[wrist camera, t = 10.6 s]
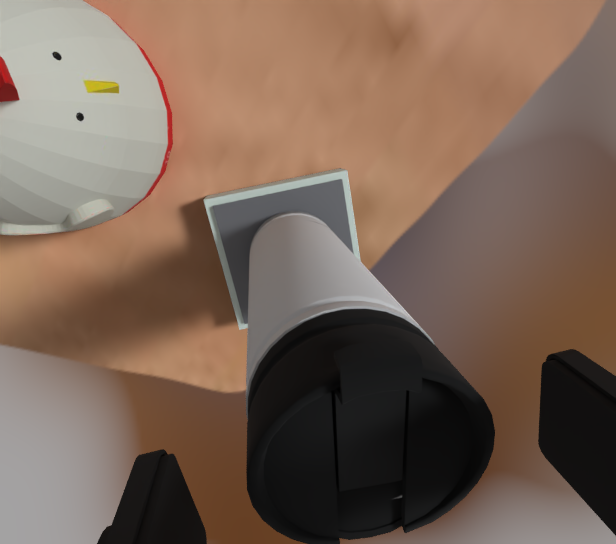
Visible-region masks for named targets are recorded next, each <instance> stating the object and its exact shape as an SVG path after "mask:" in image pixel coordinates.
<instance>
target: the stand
mask: <svg viewBox="0 0 616 544" xmlns="http://www.w3.org/2000/svg"><path fill="white" fill-rule="evenodd" d="M204 204H205V207H206V211H207V215H208V218H209V222H210V225H211V229H212V232H213V236H214V240H215V243H216V247H217V250H218V254H219V257H220V261H221V265H222V268H223V272H224V275H225V279H226V282H227V286H228V290H229V293H230V297H231V300H232V304H233V307H234V311H235V315H236V318H237V322H238V325H239V329H240V330H241V329H245V328H248V296H249V257H250V246H251V242H252V239H253V237H254V234H255V233H256V231H257V230H258V228H259V227H260V226H261V225H262V224H263V223H264V222H265V221H266V220H268V219H269V218H271V217H272V216H274V215H277V214H279V213H282V212H287V211H302V212H307V213H310V214H312V215H314V216H316V217H318V218H319V219H321V220H322V221H323V222H324V223H325V224H326V225H327V226H328V227H329V228H330V229H331V230H332V231H333V232H334V233H335V235H336V236H337V237H338V238H339V239H340V240H341V241H342V242H343V243H344V244H345V245H346V246H347V248H348V249H349V250H350V251H351V252H352V253H353V254H354V255H355V256H356V257H357V258H358V259H359V261H360V254H359V247H358V240H357V234H356V227H355V220H354V213H353V206H352V200H351V193H350V186H349V179H348V172H347V170H345V169H341V168H339V169H334V170H329V171H324V172H319V173H315V174H310V175H305V176H300V177H295V178H290V179H286V180H281V181H276V182H271V183H266V184H261V185H257V186H252V187H247V188H242V189H237V190H232V191H228V192H223V193H218V194H213V195H208V196H206V198H205V199H204ZM360 262H361V261H360Z"/></svg>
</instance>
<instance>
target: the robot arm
mask: <svg viewBox="0 0 616 544" xmlns="http://www.w3.org/2000/svg"><path fill="white" fill-rule="evenodd" d="M538 442H539V447H540V449H541V452H542V453H543V455H544V456H545V458H546V459H547V460H548V461H549V462H550V463H551V464H552V465H553V466H554V468H555V469H556V470H557V471H558V472H559V473H560V474H561V475H562V477H563V478H564V479H565V480H566V481H567V482H568V483H569V484H570V485H571V486H572V487H573V489H574V490H575V491H576V492H577V493H578V494H579V495H580V496H581V498H582V499H583V500H584V501H585V502H586V503H587V504H588V505H589V506H590V508H591V509H592V510H593V511H594V512H595V513H596V514H597V515H598V516H599V517H600V518H601V520H602V521H603V522H604V523H605V524H606V525H607V526H608V528H609V529H610V530H611V531H612V532H613V533H614V534H615V535H616V376H614V375H613V374H611V373H610V372H608V371H607V370H605V369H604V368H603V367H601V366H600V365H598V364H596V363H595V362H593V361H592V360H591V359H589V358H588V357H586V356H585V355H583V354H582V353H580V352H579V351H576V350H573V349H570V350H566V351H562V352H558V353H554V354H550V355H548V357H547V359H546V362H544V363H543V364H542V375H541V396H540V418H539V440H538ZM97 544H207V543H206V532H205V528H204V525H203V523H202V521H201V518H200V516H199V513H198V511H197V509H196V506H195V504H194V501H193V499H192V496H191V494H190V491H189V489H188V486H187V484H186V482H185V479H184V477H183V475H182V472H181V469H180V467H179V465H178V462H177V460H176V457H175V456H174V454H169V455H168V454H167V453H166V451H165V450H158V451H154V452H150V453H146V454H142V455H139V456H138V457H137V458H136V460H135V462H134V465H133V468H132V470H131V473H130V476H129V479H128V481H127V484H126V487H125V490H124V493H123V495H122V498H121V501H120V504H119V506H118V509H117V512H116V515H115V517H114V520H113V523H112V525H111V526H108V527H107V528H106V529H105V530H104V531H103V533H102V534H101V537H100V539H99V541H98V543H97Z"/></svg>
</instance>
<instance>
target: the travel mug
mask: <svg viewBox="0 0 616 544" xmlns="http://www.w3.org/2000/svg"><path fill="white" fill-rule="evenodd" d="M246 386H247V389H246V415H247V418H248V423H247V491H248V493H249V497H250V500H251V502H252V505H253V507H254V508H255V510H256V511H257V513H258V514H259V515H260V517H261V518H262V520H263V521H265V522H266V523H267V524H268V525H270V526H271V527H272V528H273V529H275V530H276V531H277V532H279V533H281V534H283V535H285V536H287V537H289V538H291V539H293V540H296V541H300V542H303V543H307V544H340V541H339V538H342V539H348V540H351V539H359V538H368V537H373V536H377V535H380V534H385V533H388V532H391V531H393V530H395V529H397V528H398V527H400V526H402V527H403V530H404V532H405V533H407V532H410V531H412V530H414V529H417V528H419V527H422V526H424V525H426V524H429V523H431V522H433V521H435V520H436V519H438V518H439V517H441V516H442V515H444V514H445V513H447V512H448V511H450V510H451V509H452V508H453V507H454V506H455V505H457V504H458V503H459V502H460V501H461V500H462V499H463V498H465V497H466V496H467V494H468V493H469V492H470V491H471V490H472V488H473V487H474V486H475V485H476V484H477V483H478V481H479V479H480V478H481V476H482V474H483V473H484V471H485V469H486V468H487V466H488V463H489V460H490V457H491V454H492V452H493V447H494V436H495V430H494V424H493V419H492V414H491V412H490V410H489V408H488V406H487V404H486V403H485V401H484V399H483V398H482V397H481V396H480V395H479V394H478V392H476V390H475V389H474V388H473V387H472V386H471V385H470V384H469V383H468V381H467V380H466V379H465V378H464V377H463V376H462V375H461V374H460V373H459V371H458V370H457V369H456V368H455V367H454V366H453V365H452V364H451V363H450V361H449V360H448V359H447V358H446V357H445V356H444V355H443V354H442V353H441V352H440V351H439V350H438V348H437V347H436V346H435V344H434V342H433V341H432V339H431V338H430V337H429V336H428V335H427V333H425V331H424V330H423V329H422V328H421V327H420V326H419V325H418V324H417V322H416V321H415V320H414V319H413V318H412V317H411V316H410V315H409V314H408V313H407V312H406V311H405V309H403V307H402V306H401V305H400V304H399V303H398V302H397V301H396V300H395V299H394V298H393V297H392V295H391V294H390V293H389V292H388V291H387V290H386V289H385V288H384V287H383V286H382V285H381V283H380V282H379V281H378V280H377V279H376V278H375V277H374V276H373V275H372V274H371V273H370V271H369V270H368V269H367V268H366V267H365V266H364V265H363V264H362V263H361V262H360V261H359V259H358V258H357V257H356V256H355V255H354V254H353V253H352V252H351V251H350V250H349V249H348V248H347V246H346V245H345V244H344V243H343V242H342V241H341V240H340V239H339V238H338V237H337V236H336V235H335V233H334V232H333V231H332V230H331V229H330V228H329V227H328V226H327V225H326V224H325V223H324V222H323V221H322V220H321V219H319V218H318V217H316V216H314V215H312V214H310V213H307V212H302V211H287V212H282V213H279V214H277V215H274V216H272V217H271V218H269V219H268V220H266V221H265V222H264V223H263V224H262V225H261V226H260V227H259V228H258V230H257V231H256V233H255V234H254V237H253V239H252V242H251V246H250V257H249V296H248V336H247V376H246Z"/></svg>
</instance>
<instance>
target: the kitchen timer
mask: <svg viewBox="0 0 616 544" xmlns="http://www.w3.org/2000/svg"><path fill="white" fill-rule="evenodd" d="M172 144H173V139H172V112H171V109H170V105H169V102H168V99H167V95H166V92H165V89H164V85H163V82H162V80H161V78H160V77H159V75H158V73H157V72H156V70H155V68H154V67H153V65H152V63H151V62H150V60H149V58H148V57H147V55H146V53H145V52H144V50H143V49H142V48H141V47H140V46H139V45H138V44H137V43H136V42H135V41H134V40H133V39H132V38H131V37H130V36H129V35H128V34H127V33H126V32H125V31H124V30H123V29H122V28H121V27H120V26H119V25H118V24H117V23H116V22H115V21H113V20H112V19H111V18H110V17H109V16H108V15H106V14H104V13H103V12H101V11H99V10H98V9H96V8H94V7H93V6H91V5H89V4H88V3H86V2H84V1H83V0H0V234H1V235H35V234H47V233H57V232H68V231H75V230H80V229H85V228H89V227H92V226H95V225H98V224H100V223H103V222H106V221H108V220H111V219H114V218H116V217H119V216H121V215H123V214H125V213H127V212H129V211H130V210H131V209H133V208H134V207H135V206H136V205H138V204H139V203H140V202H141V201H143V200H144V199H145V198H146V197H148V196H149V195H150V194H151V192H152V191H153V189H154V188H155V186H156V185H157V183H158V182H159V180H160V179H161V177H162V176H163V174H164V172H165V170H166V166H167V163H168V159H169V155H170V152H171V148H172Z"/></svg>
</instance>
